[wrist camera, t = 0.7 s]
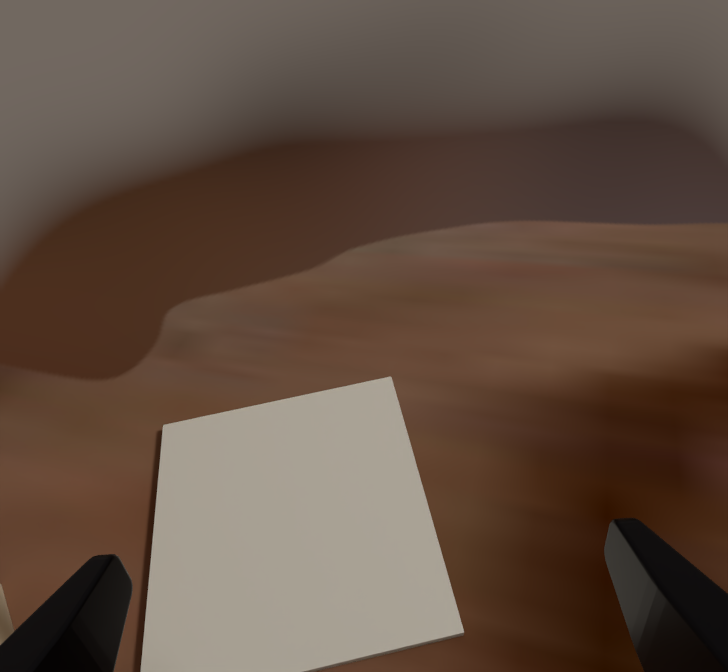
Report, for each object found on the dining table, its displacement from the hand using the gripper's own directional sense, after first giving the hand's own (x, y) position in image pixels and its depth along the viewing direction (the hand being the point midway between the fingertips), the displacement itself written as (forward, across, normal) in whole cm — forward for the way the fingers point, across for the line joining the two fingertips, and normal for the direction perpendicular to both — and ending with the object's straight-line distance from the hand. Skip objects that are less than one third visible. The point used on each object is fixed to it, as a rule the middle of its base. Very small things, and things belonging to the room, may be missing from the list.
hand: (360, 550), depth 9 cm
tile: (+12, +5, +13) cm, 18 cm away
